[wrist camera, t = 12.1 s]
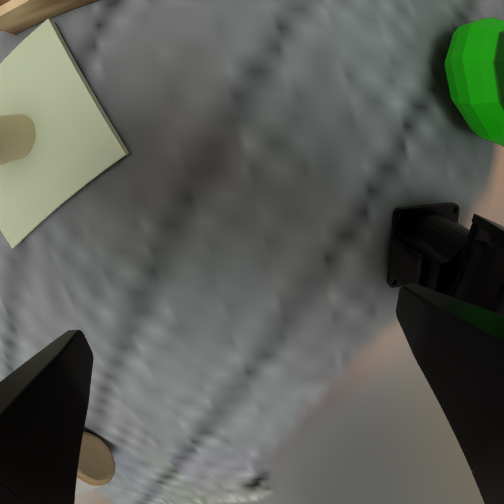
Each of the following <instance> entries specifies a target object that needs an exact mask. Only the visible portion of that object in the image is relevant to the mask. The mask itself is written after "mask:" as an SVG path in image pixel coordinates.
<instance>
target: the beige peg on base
mask: <svg viewBox="0 0 504 504" xmlns="http://www.w3.org/2000/svg"><path fill="white" fill-rule="evenodd" d="M128 153H129V152H128V150H127V148H126V147H125V145H124V144H123V142H122V140H121V139H120V137H119V135H118V134H117V132H116V130H115V129H114V127H113V125H112V124H111V122H110V120H109V119H108V117H107V115H106V114H105V112H104V110H103V109H102V107H101V105H100V104H99V102H98V100H97V98H96V97H95V95H94V93H93V92H92V90H91V88H90V86H89V85H88V83H87V81H86V79H85V78H84V76H83V74H82V72H81V71H80V69H79V67H78V65H77V63H76V62H75V60H74V58H73V56H72V54H71V53H70V51H69V49H68V47H67V45H66V43H65V42H64V40H63V38H62V36H61V34H60V32H59V30H58V28H57V27H56V25H55V23H54V21H53V20H51V19H49V18H48V19H47V20H46V21H45V22H43V23H42V24H41V25H40V26H39V27H38V28H37V29H35V30H34V31H33V32H32V33H31V34H30V35H29V36H28V37H27V38H26V39H25V40H23V41H22V42H21V43H20V44H19V45H18V46H17V47H16V48H15V49H14V50H13V51H12V52H11V53H10V54H9V55H8V56H7V57H6V58H5V59H4V61H3V62H2V63H1V64H0V230H1V232H2V233H3V235H4V237H5V238H6V240H7V241H8V243H9V244H10V246H11V247H12V249H13V248H14V247H15V246H17V245H18V244H19V243H20V242H21V241H22V240H23V239H24V238H25V237H26V236H27V235H28V234H29V233H30V232H31V231H32V230H34V229H35V228H36V227H37V226H38V225H39V224H40V223H41V222H42V221H43V220H45V219H46V218H47V217H48V216H49V215H50V214H51V213H53V212H54V211H55V210H56V209H57V208H58V207H59V206H61V205H62V204H63V203H64V202H65V201H67V200H68V199H69V198H70V197H71V196H73V195H74V194H75V193H76V192H78V191H79V190H80V189H81V188H83V187H84V186H85V185H86V184H88V183H89V182H90V181H92V180H93V179H94V178H95V177H97V176H98V175H99V174H101V173H102V172H103V171H105V170H106V169H107V168H109V167H110V166H112V165H113V164H114V163H116V162H117V161H118V160H120V159H121V158H123V157H124V156H125V155H127V154H128Z"/></svg>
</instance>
